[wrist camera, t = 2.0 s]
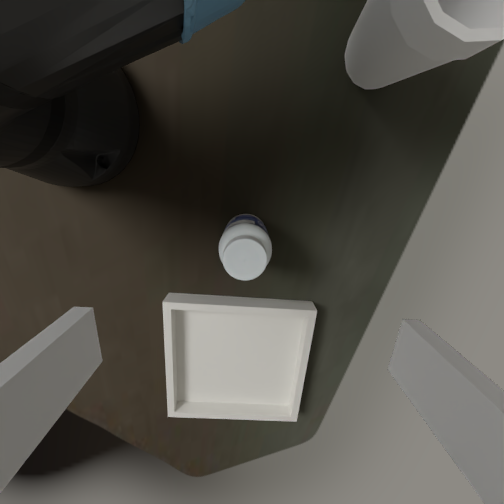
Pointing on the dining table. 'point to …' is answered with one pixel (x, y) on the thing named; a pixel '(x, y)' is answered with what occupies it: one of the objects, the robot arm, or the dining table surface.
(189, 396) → the tray
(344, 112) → the dining table surface
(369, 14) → the foam cup
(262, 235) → the pill bottle
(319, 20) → the dining table surface
